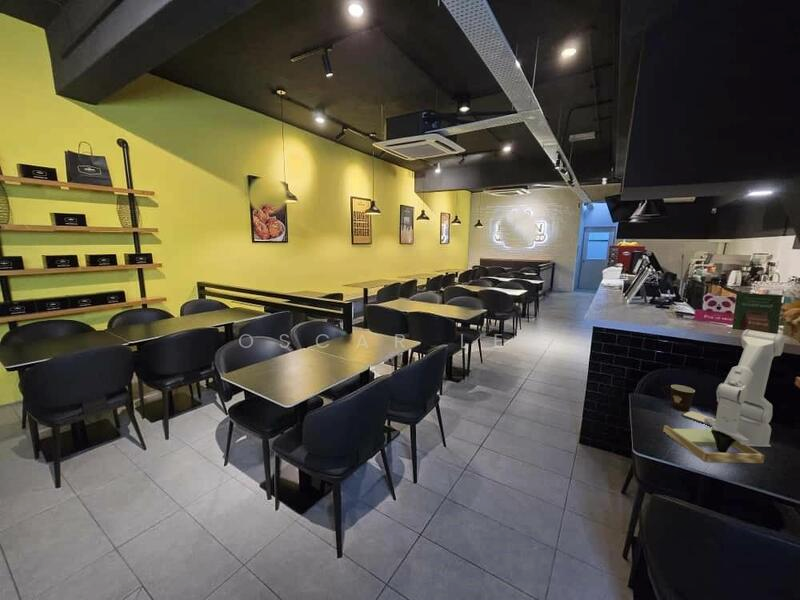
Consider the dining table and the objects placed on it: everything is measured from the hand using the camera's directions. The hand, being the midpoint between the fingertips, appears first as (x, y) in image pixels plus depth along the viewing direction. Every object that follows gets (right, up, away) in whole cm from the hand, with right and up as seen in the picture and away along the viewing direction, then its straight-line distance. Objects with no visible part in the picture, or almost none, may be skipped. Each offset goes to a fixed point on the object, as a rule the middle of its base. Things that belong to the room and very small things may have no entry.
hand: (721, 451), depth 119 cm
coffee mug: (+15, +4, +37) cm, 40 cm away
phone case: (+17, +1, +23) cm, 28 cm away
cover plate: (0, 0, +9) cm, 9 cm away
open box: (0, 0, +5) cm, 5 cm away
